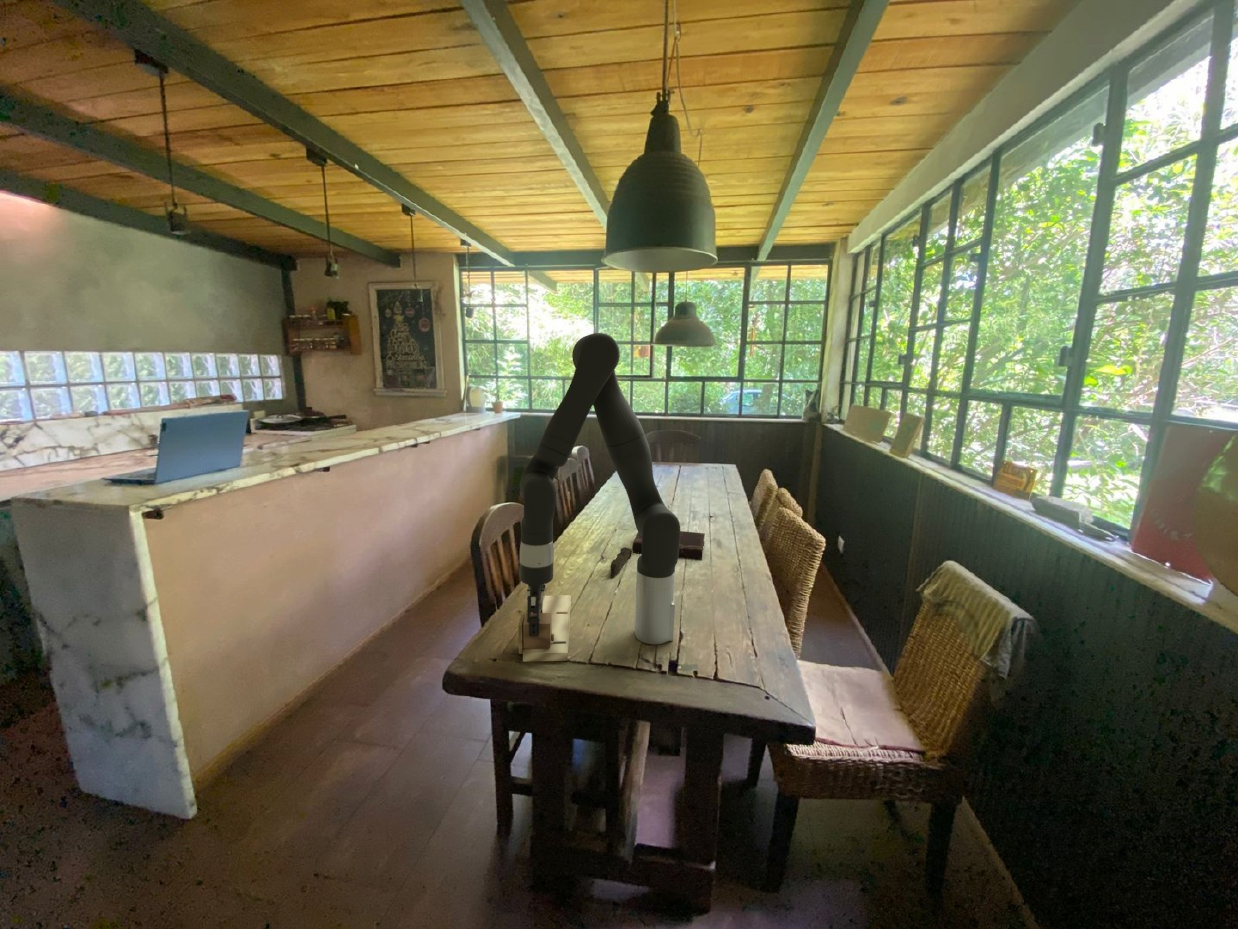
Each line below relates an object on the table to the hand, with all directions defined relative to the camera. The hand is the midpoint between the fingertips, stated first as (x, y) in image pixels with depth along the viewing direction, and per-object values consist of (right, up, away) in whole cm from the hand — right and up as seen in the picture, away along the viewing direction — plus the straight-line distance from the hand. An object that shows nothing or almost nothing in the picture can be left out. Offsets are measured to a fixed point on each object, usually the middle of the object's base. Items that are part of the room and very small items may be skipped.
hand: (536, 625), depth 110 cm
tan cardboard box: (0, -5, +1) cm, 6 cm away
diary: (+38, +5, +69) cm, 79 cm away
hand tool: (+20, +2, +50) cm, 54 cm away
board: (+1, -4, +11) cm, 12 cm away
